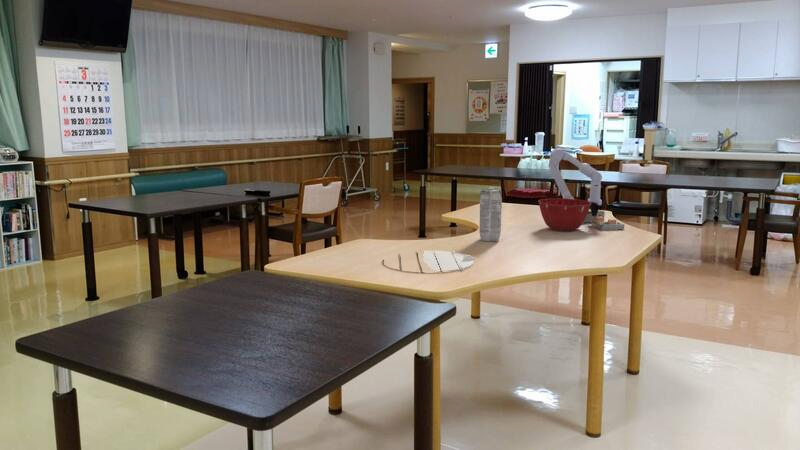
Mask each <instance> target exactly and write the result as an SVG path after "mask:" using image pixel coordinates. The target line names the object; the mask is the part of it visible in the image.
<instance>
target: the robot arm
mask: <svg viewBox="0 0 800 450" xmlns="http://www.w3.org/2000/svg"><path fill="white" fill-rule="evenodd" d="M561 160H562V161H568V162H570V163H571V164H572V165H574V166H576V167H577V168H578V171H579V172H580V173H581V174H583V175H584V176H585V177H587V178H589V179H590V184H589V185H590V186H589V187H590V188H589V198H587V201H588V202H591V205H590V208H589V209H591V213H592V216H596V215H597V212H598V210H600V208H601V206H602V204H603V200H602V199H601V186H602V185H601V184H602V182H601V181H602V179H603V176H602V173H600V172H599V171H598V170H597V169H596V168H593V167H592V166H591V164H590V163H586V162H584V163H582V162H581V161H579V160H578V159H577V158H576V157H574V156H573V155H571V154H570V153H568V152H567V151H565V150H562V149H561V148H557V147H556V148H553V150H552V151H551V153H550V155H549V161H548V168H549V171H550V172H551V175H552V177H553V179H554V181H555V184H556V185H557V187H558V190H559V192H560V194H561V196H562V199H575V198H574V197H573V196H572V194H571V192H570V190H569V189H568V186H567V184H566V181H565V180H564V178H563V175H562V174H561V171H560V170H559V167H558V166H559V165H560V162H561Z"/></svg>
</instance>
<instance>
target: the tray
mask: <svg viewBox="0 0 800 450" xmlns="http://www.w3.org/2000/svg"><path fill="white" fill-rule="evenodd" d="M595 228H596V229H598V230H601V231H611V230H612V231H614V230H615V231H616V230H617V231H618V229H624V230H625V224H624V223H621V222H619V221H616V224H615V225H602V224H599V223H596V227H595Z"/></svg>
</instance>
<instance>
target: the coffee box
mask: <svg viewBox="0 0 800 450" xmlns="http://www.w3.org/2000/svg"><path fill="white" fill-rule="evenodd" d="M605 214H606V213H605V210H600V209H598V212H597V215H596V216H592V213H591V209H590V208H589V211H588V214H587V216H586V218H585V220H584V222H583V223H582V224H584V223H592V220H594V217H604V218H605Z"/></svg>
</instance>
